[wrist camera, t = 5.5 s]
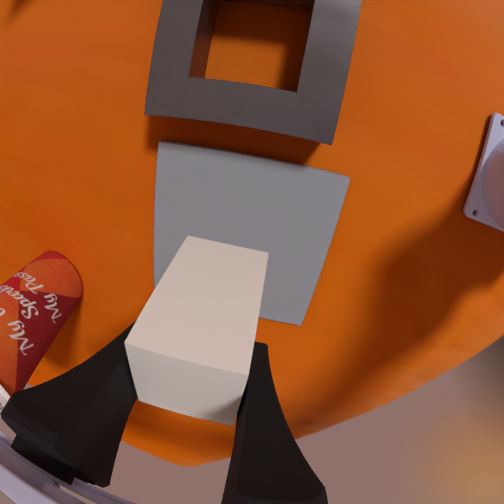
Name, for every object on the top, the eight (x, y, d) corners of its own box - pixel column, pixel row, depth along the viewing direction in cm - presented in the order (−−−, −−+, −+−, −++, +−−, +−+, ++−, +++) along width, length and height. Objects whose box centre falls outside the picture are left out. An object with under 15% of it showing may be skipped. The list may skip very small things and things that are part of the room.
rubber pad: (348, 176, 18) (350, 178, 17) (301, 320, 24) (301, 325, 23) (162, 140, 18) (158, 142, 17) (157, 288, 24) (154, 293, 23)
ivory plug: (268, 252, 14) (248, 375, 8) (254, 312, 17) (232, 425, 11) (187, 235, 14) (124, 342, 9) (184, 296, 17) (139, 400, 11)
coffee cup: (97, 264, 24) (-8, 395, 11) (90, 322, 28) (19, 434, 15) (31, 225, 23) (-78, 321, 10) (33, 285, 27) (-46, 377, 14)
